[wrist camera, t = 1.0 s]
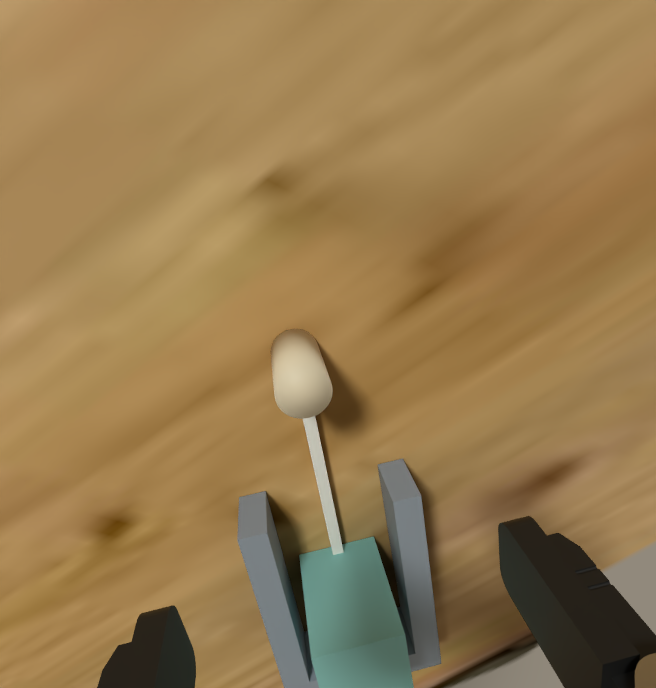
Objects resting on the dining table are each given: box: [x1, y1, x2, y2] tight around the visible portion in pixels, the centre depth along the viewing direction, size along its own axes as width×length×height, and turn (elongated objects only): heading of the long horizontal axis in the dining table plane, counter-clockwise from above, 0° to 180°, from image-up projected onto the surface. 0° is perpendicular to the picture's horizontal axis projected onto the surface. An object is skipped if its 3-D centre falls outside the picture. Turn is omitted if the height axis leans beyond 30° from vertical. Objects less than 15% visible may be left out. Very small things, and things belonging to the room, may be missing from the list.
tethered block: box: [271, 329, 414, 688], centre depth 26 cm, size 5×20×7 cm, turn 10°
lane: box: [238, 459, 441, 688], centre depth 30 cm, size 10×14×4 cm
